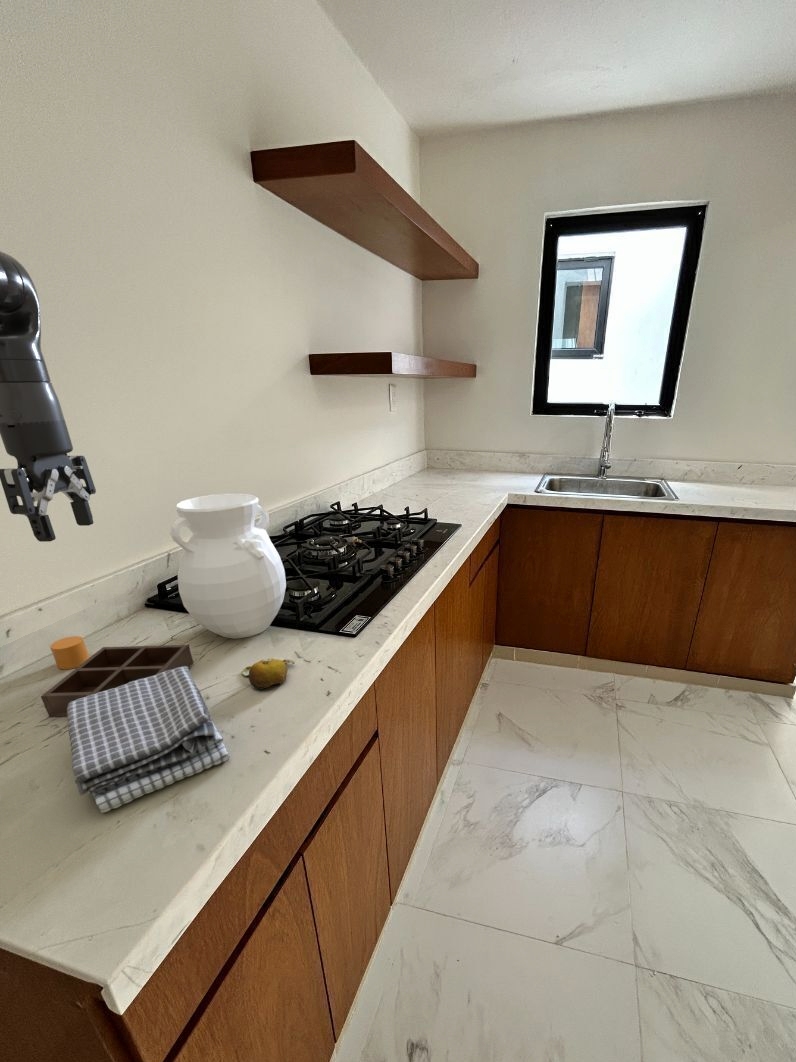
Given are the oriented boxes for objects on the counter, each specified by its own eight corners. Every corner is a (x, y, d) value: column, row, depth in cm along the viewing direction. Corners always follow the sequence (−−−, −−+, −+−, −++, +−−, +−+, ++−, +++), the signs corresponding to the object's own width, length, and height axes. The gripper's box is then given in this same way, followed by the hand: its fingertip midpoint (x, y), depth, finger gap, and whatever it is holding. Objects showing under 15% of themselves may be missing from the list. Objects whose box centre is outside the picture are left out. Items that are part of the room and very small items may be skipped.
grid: (49, 717, 72) (40, 696, 71) (109, 665, 85) (102, 646, 84) (149, 714, 72) (142, 693, 71) (193, 662, 85) (188, 644, 84)
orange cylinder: (51, 670, 84) (43, 649, 83) (69, 656, 88) (62, 636, 87) (78, 669, 84) (71, 648, 83) (95, 655, 89) (88, 635, 87)
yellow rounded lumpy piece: (293, 660, 85) (289, 641, 84) (298, 685, 78) (295, 665, 77) (241, 670, 83) (237, 651, 81) (242, 697, 76) (237, 676, 74)
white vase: (265, 600, 110) (244, 486, 100) (310, 625, 98) (291, 498, 88) (176, 629, 98) (141, 502, 88) (215, 661, 86) (180, 519, 76)
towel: (198, 698, 76) (186, 653, 72) (233, 765, 62) (220, 713, 59) (78, 739, 67) (58, 690, 64) (87, 826, 54) (63, 770, 51)
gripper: (40, 415, 75) (74, 520, 82) (-43, 422, 62) (4, 547, 68) (91, 415, 75) (120, 520, 82) (18, 421, 62) (59, 546, 69)
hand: (67, 532), depth 75 cm, fingers open, 8 cm apart
